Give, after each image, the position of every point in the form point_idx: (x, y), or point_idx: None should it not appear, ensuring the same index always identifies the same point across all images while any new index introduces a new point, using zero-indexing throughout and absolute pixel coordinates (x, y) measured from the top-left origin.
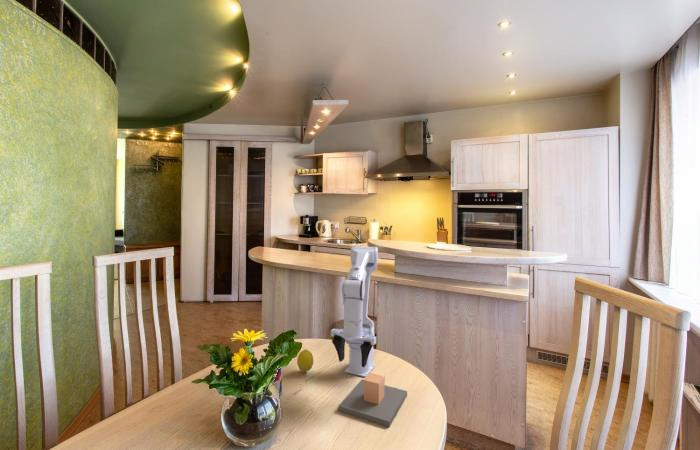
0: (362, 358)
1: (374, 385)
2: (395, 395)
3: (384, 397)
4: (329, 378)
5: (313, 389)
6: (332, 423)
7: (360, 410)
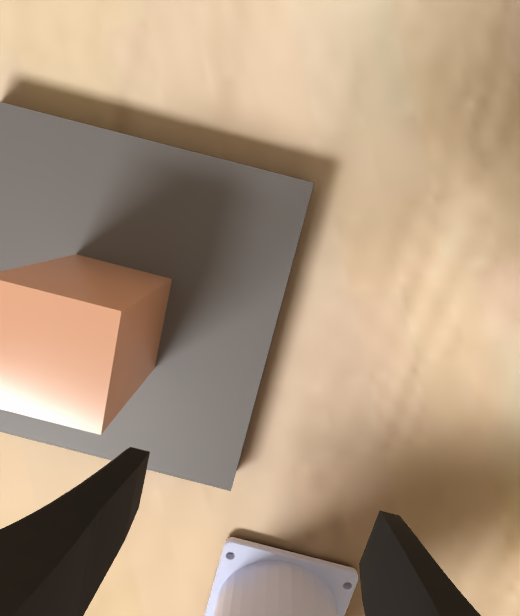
0: (94, 499)
1: (37, 280)
2: None
3: None
4: (434, 494)
5: (512, 368)
6: (322, 52)
7: (167, 166)
